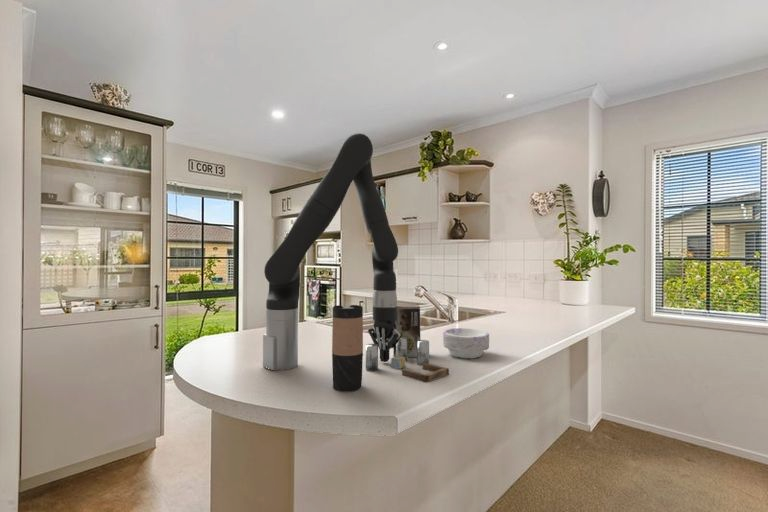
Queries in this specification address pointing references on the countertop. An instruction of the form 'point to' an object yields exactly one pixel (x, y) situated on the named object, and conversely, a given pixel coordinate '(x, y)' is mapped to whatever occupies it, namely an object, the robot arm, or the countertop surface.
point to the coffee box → (408, 327)
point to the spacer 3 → (422, 352)
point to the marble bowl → (465, 342)
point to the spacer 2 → (402, 348)
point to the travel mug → (347, 347)
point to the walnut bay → (427, 377)
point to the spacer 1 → (371, 357)
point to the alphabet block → (398, 362)
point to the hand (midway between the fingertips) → (384, 361)
